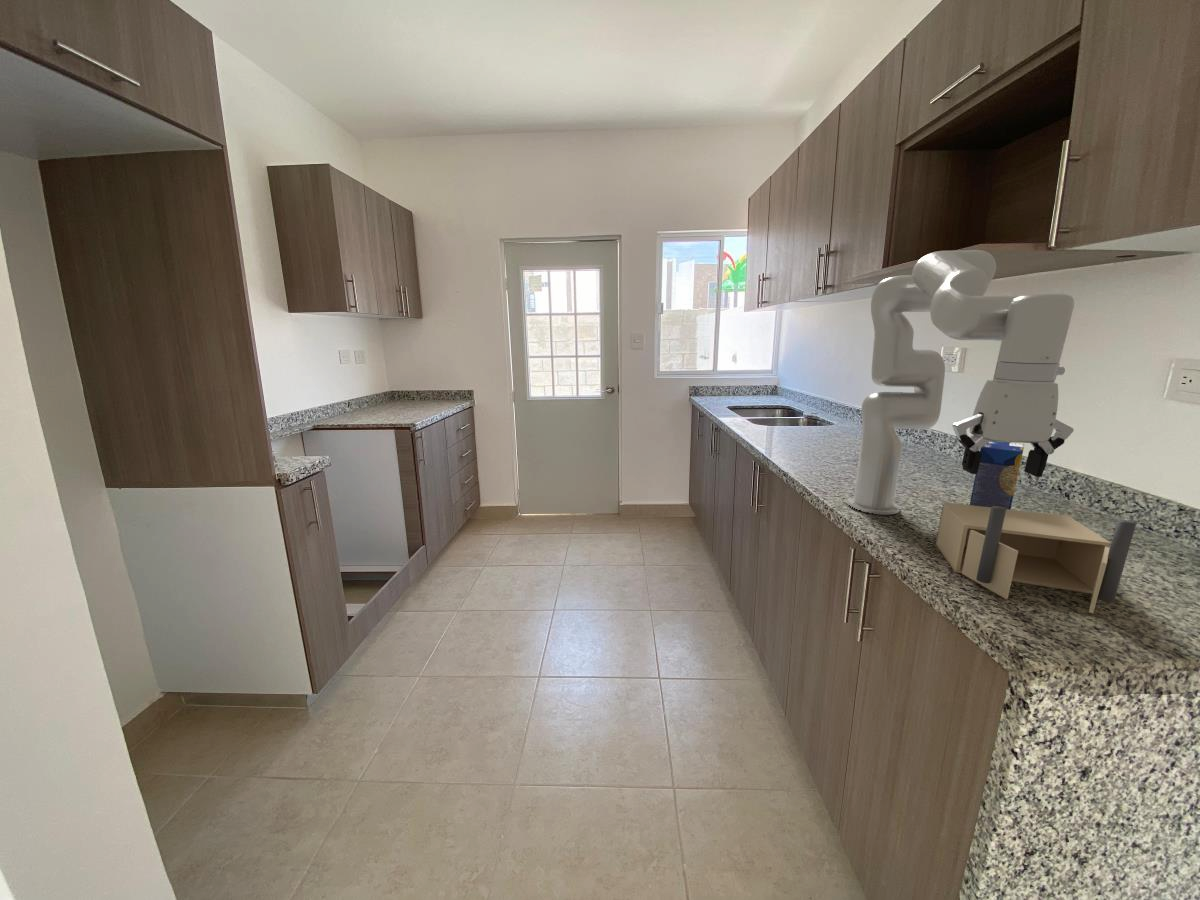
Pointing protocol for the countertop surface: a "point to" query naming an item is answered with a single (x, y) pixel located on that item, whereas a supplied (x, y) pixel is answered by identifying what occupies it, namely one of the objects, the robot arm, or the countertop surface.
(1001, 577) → the flap
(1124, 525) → the flap
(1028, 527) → the wooden cabinet
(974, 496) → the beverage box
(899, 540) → the countertop surface
